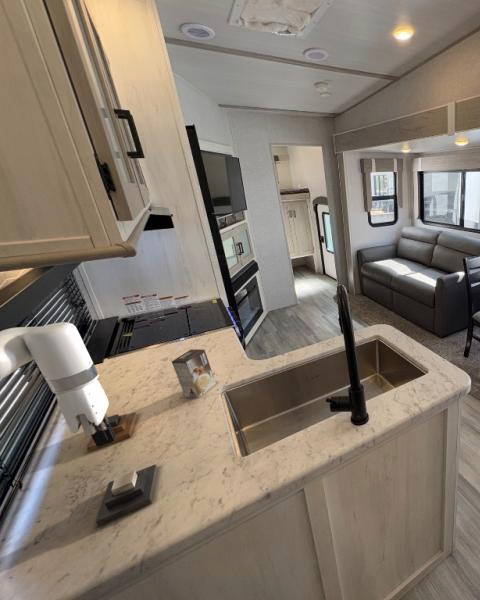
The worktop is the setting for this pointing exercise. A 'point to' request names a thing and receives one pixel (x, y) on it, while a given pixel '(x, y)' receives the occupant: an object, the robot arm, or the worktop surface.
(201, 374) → the coffee box
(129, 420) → the brown stepped pedestal
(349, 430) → the worktop surface
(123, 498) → the black stepped pedestal
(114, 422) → the black key
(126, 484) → the white key
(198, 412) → the worktop surface
